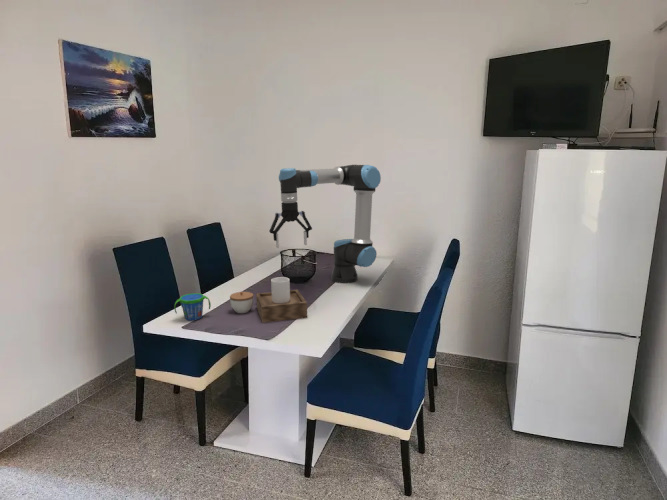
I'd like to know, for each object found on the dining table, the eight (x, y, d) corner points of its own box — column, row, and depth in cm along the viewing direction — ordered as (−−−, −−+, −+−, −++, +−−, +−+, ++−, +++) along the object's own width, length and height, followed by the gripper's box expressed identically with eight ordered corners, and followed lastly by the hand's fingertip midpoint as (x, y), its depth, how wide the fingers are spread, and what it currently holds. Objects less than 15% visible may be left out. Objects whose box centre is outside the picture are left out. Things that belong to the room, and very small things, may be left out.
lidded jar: (228, 309, 228) (227, 290, 226) (250, 306, 232) (250, 287, 230) (233, 316, 219) (232, 296, 217) (256, 312, 223) (255, 293, 221)
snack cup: (174, 324, 210) (172, 301, 208) (176, 316, 220) (174, 294, 218) (211, 320, 214) (209, 298, 212) (211, 312, 224) (209, 291, 222)
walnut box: (298, 303, 235) (297, 289, 233) (307, 317, 216) (306, 302, 214) (256, 308, 229) (256, 293, 228) (262, 322, 210) (261, 307, 209)
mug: (280, 295, 228) (280, 274, 226) (296, 297, 226) (296, 275, 223) (268, 303, 218) (267, 281, 215) (285, 305, 215) (284, 282, 212)
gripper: (264, 204, 219) (267, 250, 224) (317, 200, 225) (318, 245, 230) (261, 202, 226) (264, 246, 231) (313, 199, 232) (314, 242, 237)
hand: (291, 246), depth 230 cm, fingers open, 13 cm apart
